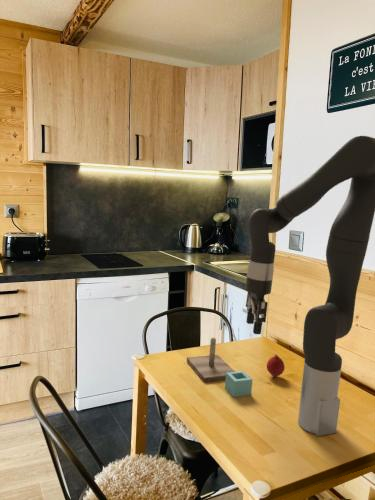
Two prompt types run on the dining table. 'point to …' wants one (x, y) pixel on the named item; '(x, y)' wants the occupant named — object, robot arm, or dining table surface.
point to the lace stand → (210, 365)
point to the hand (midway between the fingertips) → (253, 328)
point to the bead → (238, 383)
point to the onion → (275, 366)
